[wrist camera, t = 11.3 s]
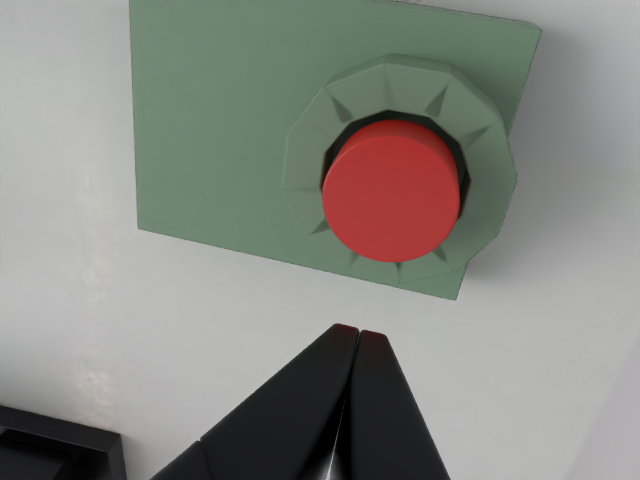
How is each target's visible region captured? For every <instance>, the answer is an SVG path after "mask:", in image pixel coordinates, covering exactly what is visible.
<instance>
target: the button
mask: <svg viewBox="0 0 640 480" xmlns="http://www.w3.org/2000/svg"><path fill="white" fill-rule="evenodd" d="M322 204H323V210H324V214H325V217H326V220H327V222H328V224H329V226H330V228H331V229H332V231H333V232H334V234H335V235H336V236H337V238H338V239H339V240H340V241H341V242H342V243H343V244H344V245H345V246H346V247H348V248H349V249H351V250H352V251H354V252H355V253H357V254H359V255H361V256H363V257H366V258H368V259H372V260H375V261H381V262H404V261H410V260H413V259H416V258H419V257H421V256H423V255H426V254H427V253H429V252H431V251H432V250H434V249H435V248H436V247H437V246H439V245H440V244H441V243H442V242H443V241H444V240H445V239H446V237H447V236H448V235H449V233H450V232H451V230H452V228H453V227H454V225H455V222H456V219H457V217H458V212H459V204H460V196H459V184H458V171H457V166H456V162H455V160H454V157H453V154H452V153H451V151H450V149H449V147H448V146H447V145H446V143H445V142H444V141H443V140H442V139H441V138H440V137H439V136H438V135H437V134H436V133H434V132H433V131H432V130H430V129H428V128H427V127H425V126H423V125H420V124H418V123H415V122H411V121H407V120H400V119H390V120H382V121H378V122H375V123H372V124H369V125H367V126H365V127H363V128H361V129H360V130H358V131H357V132H356V133H354V134H353V135H352V136H351V137H350V138H349V139H348V140H347V141H346V142H345V144H344V145H343V146H342V148H341V149H340V151H339V153H338V155H337V157H336V158H335V160H334V162H333V164H332V165H331V167H330V169H329V171H328V173H327V175H326V178H325V181H324V185H323V191H322Z"/></svg>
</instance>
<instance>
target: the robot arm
mask: <svg viewBox="0 0 640 480" xmlns="http://www.w3.org/2000/svg"><path fill="white" fill-rule="evenodd" d="M359 334H360V335H359ZM358 338H359V339H358ZM357 343H358V344H357ZM355 352H356V353H355ZM353 361H354V362H353ZM344 402H345V403H344ZM342 411H343V412H342ZM341 416H342V417H341ZM340 420H341V421H340ZM339 425H340V426H339ZM338 429H339V430H338ZM337 434H338V435H337ZM336 438H337V440H336ZM335 443H336V444H335ZM334 447H335V449H334ZM333 452H334V454H333ZM332 456H333V459H332ZM331 459H332V464H331V471H330V480H450V477H449V475H448V473H447V471H446V468H445V466H444V464H443V462H442V459H441V457H440V455H439V453H438V450H437V448H436V446H435V444H434V441H433V439H432V437H431V435H430V432H429V430H428V428H427V426H426V423H425V421H424V419H423V417H422V414H421V412H420V410H419V408H418V405H417V403H416V401H415V399H414V396H413V394H412V392H411V390H410V387H409V385H408V383H407V381H406V378H405V376H404V374H403V372H402V369H401V367H400V365H399V363H398V360H397V358H396V356H395V354H394V351H393V349H392V347H391V345H390V342H389V340H388V338H387V336H386V335H384V334H381V333H377V332H372V331H368V330H362V331H361V332H360V331H359V329H358V328H356V327H351V326H347V325H343V324H338V323H336V324H334V325H333V326H331V327H330V328H329V329H328V330H327V331H325V332H324V333H323V334H322V335H321V336H320V337H318V338H317V339H316V340H315V341H314V342H312V343H311V344H310V345H309V346H308V347H307V348H305V349H304V350H303V351H302V352H301V353H300V354H298V355H297V356H296V357H295V358H294V359H292V360H291V361H290V362H289V363H288V364H287V365H285V366H284V367H283V368H282V369H281V370H280V371H278V372H277V373H276V374H275V375H274V376H272V377H271V378H270V379H269V380H268V381H267V382H265V383H264V384H263V385H262V386H261V387H260V388H258V389H257V390H256V391H255V392H254V393H252V394H251V395H250V396H249V397H248V398H247V399H245V400H244V401H243V402H242V403H241V404H240V405H238V406H237V407H236V408H235V409H234V410H232V411H231V412H230V413H229V414H228V415H227V416H225V417H224V418H223V419H222V420H221V421H220V422H218V423H217V424H216V425H215V426H214V427H212V428H211V429H210V430H209V431H208V432H207V433H205V434H204V435H203V436H202V437H201V439H200V441H196V442H194V443H193V444H192V445H191V446H190V447H189V448H187V449H186V450H185V451H184V452H183V453H182V454H180V455H179V456H178V457H177V458H176V459H174V460H173V461H172V462H171V463H169V464H168V465H167V466H166V467H164V468H163V469H162V470H161V471H159V472H158V473H157V474H156V475H154V476H153V477H152V478H151V479H149V480H325V479H326V476H327V473H328V470H329V467H330V463H331Z"/></svg>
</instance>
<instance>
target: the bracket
mask: <svg viewBox="0 0 640 480" xmlns="http://www.w3.org/2000/svg"><path fill="white" fill-rule="evenodd" d="M0 480H126V475H125V468H124V460H123V453H122V446H121V439H120V435H119V434H116V433H112V432H107V431H103V430H99V429H95V428H91V427H86V426H82V425H78V424H74V423H70V422H66V421H61V420H57V419H53V418H49V417H45V416H40V415H36V414H32V413H28V412H24V411H19V410H15V409H11V408H7V407H3V406H0Z"/></svg>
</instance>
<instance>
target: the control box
mask: <svg viewBox="0 0 640 480" xmlns="http://www.w3.org/2000/svg"><path fill="white" fill-rule="evenodd" d="M129 12H130V38H131V65H132V92H133V118H134V145H135V171H136V198H137V224H138V229H141V230H146V231H150V232H154V233H159V234H163V235H168V236H172V237H176V238H181V239H185V240H190V241H194V242H198V243H203V244H207V245H212V246H216V247H220V248H225V249H229V250H234V251H238V252H243V253H247V254H251V255H256V256H260V257H265V258H269V259H273V260H278V261H282V262H287V263H291V264H295V265H300V266H304V267H309V268H313V269H317V270H322V271H326V272H331V273H335V274H339V275H344V276H348V277H353V278H357V279H361V280H366V281H370V282H375V283H379V284H383V285H388V286H392V287H397V288H401V289H405V290H410V291H414V292H419V293H423V294H427V295H432V296H436V297H441V298H445V299H449V300H454V301H455V300H456V299H457V295H458V292H459V289H460V286H461V283H462V280H463V277H464V274H465V270H466V267H467V264H468V261H469V260H470V259H471V258H472V257H473V256H474V255H476V254H477V253H478V252H479V251H480V250H481V249H483V248H484V247H485V246H486V245H487V244H489V243H490V242H491V241H492V240H493V239H494V238H496V237H497V235H498V233H499V232H500V229H501V226H502V223H503V220H504V217H505V214H506V212H507V209H508V206H509V203H510V200H511V197H512V194H513V191H514V188H515V185H516V182H517V179H516V178H517V173H516V169H515V165H514V161H513V158H512V154H511V150H510V146H509V142H508V136H509V132H510V129H511V126H512V123H513V120H514V117H515V114H516V111H517V107H518V104H519V101H520V98H521V95H522V92H523V89H524V85H525V82H526V79H527V76H528V73H529V70H530V67H531V64H532V60H533V57H534V54H535V51H536V48H537V45H538V42H539V38H540V35H541V32H542V29H541V28H539V27H537V26H536V25H534V24H532V23H528V22H522V21H516V20H510V19H504V18H498V17H492V16H486V15H479V14H473V13H467V12H461V11H455V10H449V9H443V8H437V7H430V6H424V5H418V4H412V3H406V2H400V1H394V0H129ZM390 119H400V120H407V121H411V122H415V123H418V124H420V125H423V126H425V127H427V128H428V129H430V130H432V131H433V132H434V133H436V134H437V135H438V136H439V137H440V138H441V139H442V140H443V141H444V142H445V143H446V145H447V146H448V147H449V149H450V151H451V153H452V154H453V157H454V160H455V162H456V166H457V171H458V184H459V196H460V204H459V212H458V217H457V219H456V222H455V225H454V227H453V228H452V230H451V232H450V233H449V235H448V236H447V237H446V239H445V240H444V241H443V242H442V243H441V244H440V245H439V246H437V247H436V248H435V249H434V250H432V251H431V252H429V253H427V254H426V255H423V256H421V257H419V258H416V259H413V260H410V261H404V262H381V261H375V260H372V259H368V258H366V257H363V256H361V255H359V254H357V253H355V252H354V251H352V250H351V249H349V248H348V247H346V246H345V245H344V244H343V243H342V242H341V241H340V240H339V239H338V238H337V236H336V235H335V234H334V232H333V231H332V229H331V228H330V226H329V224H328V222H327V220H326V217H325V214H324V210H323V204H322V191H323V185H324V181H325V178H326V175H327V173H328V171H329V169H330V167H331V165H332V164H333V162H334V160H335V158H336V157H337V155H338V153H339V151H340V149H341V148H342V146H343V145H344V144H345V142H346V141H347V140H348V139H349V138H350V137H351V136H352V135H353V134H354V133H356V132H357V131H358V130H360V129H361V128H363V127H365V126H367V125H369V124H372V123H375V122H378V121H382V120H390Z"/></svg>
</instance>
